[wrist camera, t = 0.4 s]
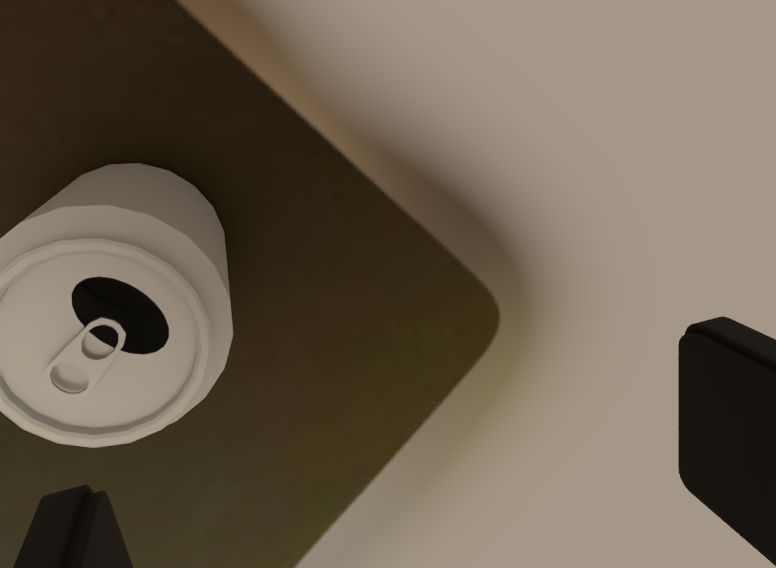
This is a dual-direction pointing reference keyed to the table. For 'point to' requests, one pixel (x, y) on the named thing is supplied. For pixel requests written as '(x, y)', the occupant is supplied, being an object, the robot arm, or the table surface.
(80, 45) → the table surface
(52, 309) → the can
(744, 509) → the robot arm
